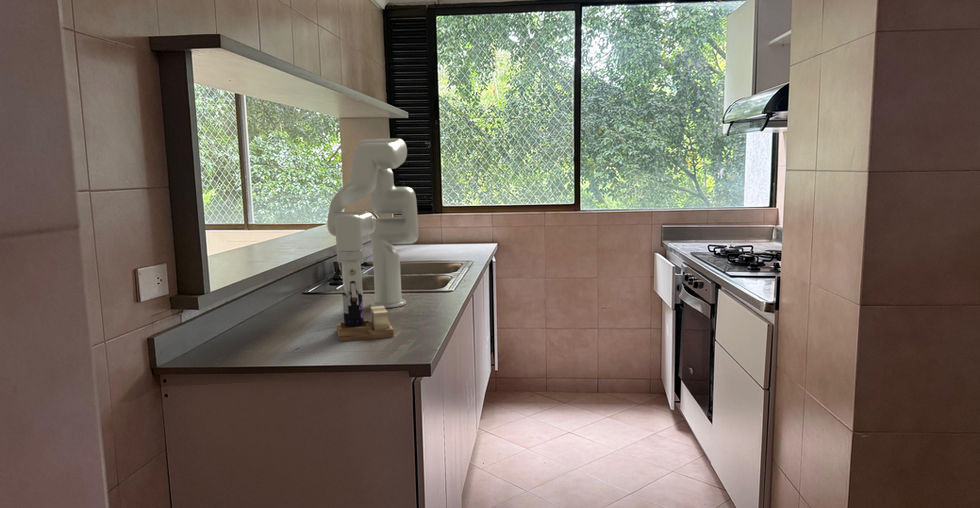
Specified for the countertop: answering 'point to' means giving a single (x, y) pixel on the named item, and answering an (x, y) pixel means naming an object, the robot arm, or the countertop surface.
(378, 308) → the wing block
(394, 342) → the countertop surface
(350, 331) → the jig
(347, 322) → the beverage can
